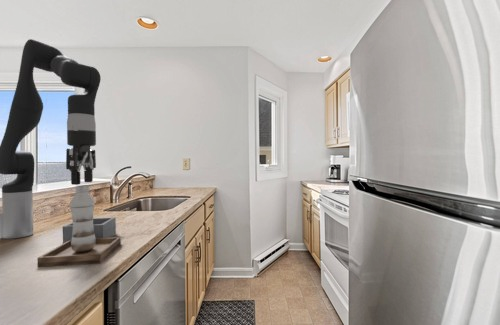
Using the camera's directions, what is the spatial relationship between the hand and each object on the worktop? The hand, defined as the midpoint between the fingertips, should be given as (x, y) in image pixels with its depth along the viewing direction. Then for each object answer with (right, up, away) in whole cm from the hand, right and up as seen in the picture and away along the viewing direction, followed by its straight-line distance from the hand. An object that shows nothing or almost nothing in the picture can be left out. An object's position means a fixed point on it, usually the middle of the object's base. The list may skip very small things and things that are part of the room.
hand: (82, 183), depth 87 cm
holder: (-7, -22, +17) cm, 29 cm away
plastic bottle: (0, -21, 0) cm, 21 cm away
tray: (0, -22, 0) cm, 22 cm away
